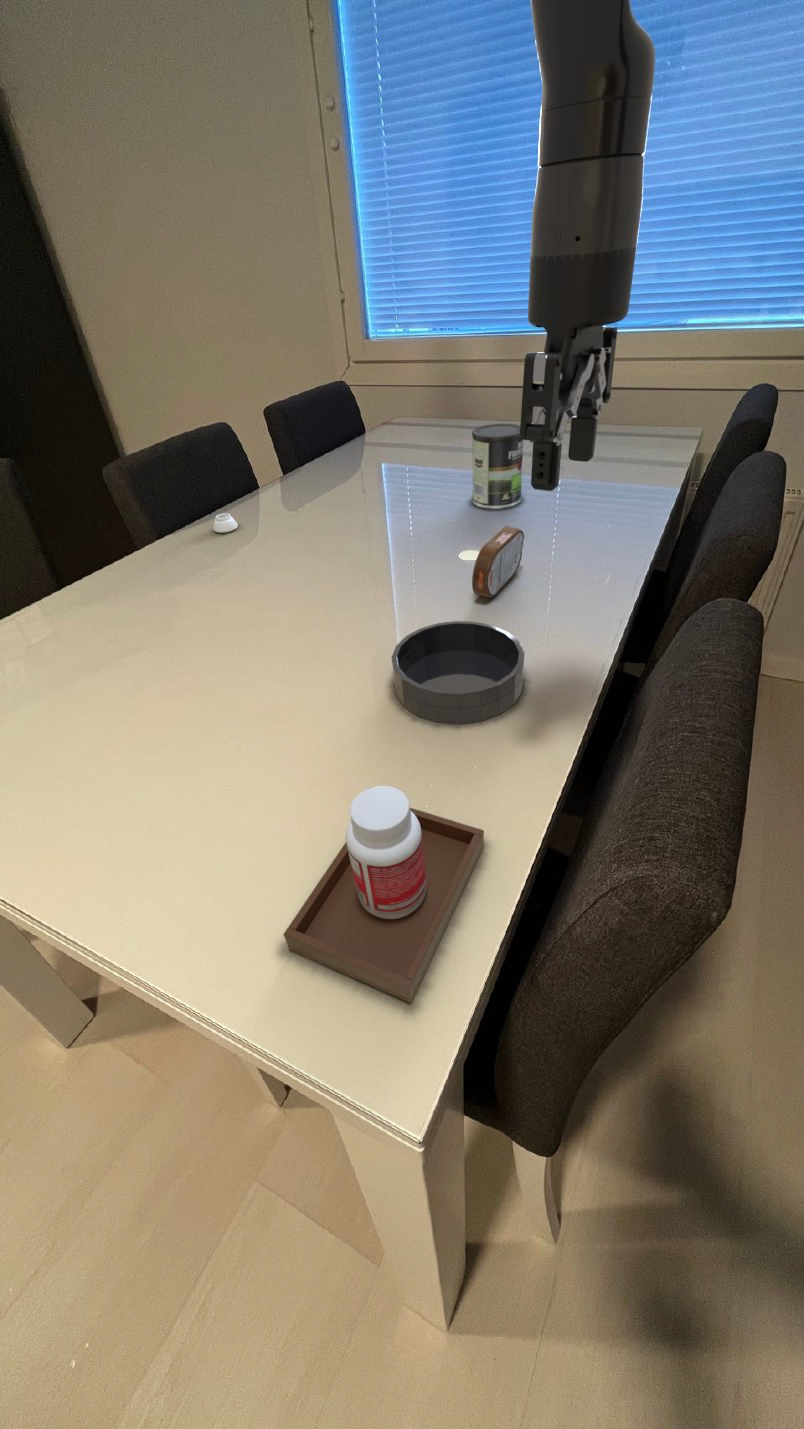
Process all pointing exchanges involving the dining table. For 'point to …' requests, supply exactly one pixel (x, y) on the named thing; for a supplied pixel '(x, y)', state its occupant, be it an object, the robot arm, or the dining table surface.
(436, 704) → the bowl
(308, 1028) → the dining table surface
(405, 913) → the pill bottle
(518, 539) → the tin
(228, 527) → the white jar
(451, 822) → the tray
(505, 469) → the coffee can
